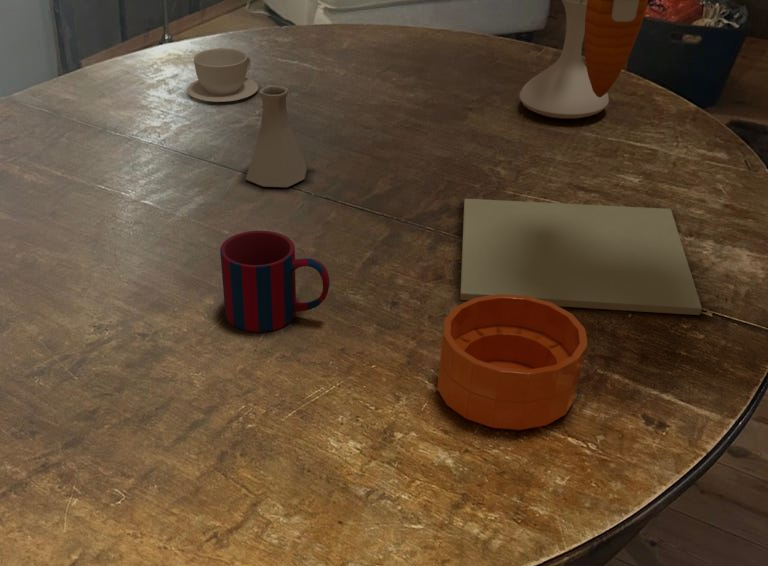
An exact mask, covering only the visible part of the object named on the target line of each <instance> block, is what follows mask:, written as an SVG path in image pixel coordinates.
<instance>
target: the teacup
mask: <svg viewBox="0 0 768 566" xmlns="http://www.w3.org/2000/svg"><path fill="white" fill-rule="evenodd" d="M193 64H194V69H195V75H196V76H197V79H198V80H195V81H193V82H192V83H190V84H189V85H188V86H187V88H186V92H187V94H188V95H189V96H191V98H194V99H198V100H200V101H205V102H212V103H213V102H214V103H215V102H216V103H220V102H221V103H223V102H233V101H238V100H243V99H246V98H248V97H250V96H252V95H254V94H255V93H256V92H257V91H258V89H259V85H258V83H257V82H256V81H255V80H253V79H250V78H248V77H246V76H247V73H248V72H249V70H250V68H251V58H250V56H248V54H247V53H246V52H245V51H243V50H241V49H236V48H229V47H221V48H210V49H206V50H202V51H200V52H198V53H196V54H194V56H193Z"/></svg>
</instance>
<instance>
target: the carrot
mask: <svg viewBox="0 0 768 566" xmlns="http://www.w3.org/2000/svg"><path fill="white" fill-rule="evenodd" d="M648 2H649V0H639V4H638V9H637V13H636V17H635V19H634V20H632V21H630V22H616V21H614V20H613V19H612V16H611V12H610V9H611V5H612V0H587V7H586V16H585V34H584V61H585V66H586V67H587V72H588V77H589V80H590V83H591V86H592V89H593V92H594V93H595V94H596V96H597V97H602V96H603V95H605V94H606V93H608V92H609V91H610V89H611V88H612V87H613V85H614V83H615V82H616V80H617V79H618V77H619V76H620V74H621V72H622V70H623V69H624V67H625V65H626V63H627V61H628V59H629V58H630V55H631V52H632V50H633V48H634V46H635V43H636V40H637V38H638V35H639V32H640V29H641V27H642V24H643V22H644V18H645V15H646V11H647V6H648Z"/></svg>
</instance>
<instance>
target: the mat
mask: <svg viewBox="0 0 768 566" xmlns="http://www.w3.org/2000/svg"><path fill="white" fill-rule="evenodd" d="M462 214H463V215H462V216H463V217H462V219H463V220H462V240H461V242H462V243H461V262H460V263H461V266H460V290H459V300H460V301H469V300H471V299H474V298H478V297H484V296H491V295H497V294H507V295H522V296H529V297H533V298H536V299H540V300H544V301H547V302H551V303H553V304H555V305H557V306H559V307H561V308H563V307H564V308H580V309H594V310H595V309H597V310H612V311H626V312H627V311H628V312H642V313H656V314H657V313H659V314H673V315H689V316H691V315H692V316H700V315H701V313H702V310H703V306H702V304H701V300H700V297H699V294H698V292H697V288H696V285H695V281H694V279H693V276H692V272H691V269H690V267H689V266H690V265H689V262H688V259H687V256H686V253H685V249H684V246H683V243H682V240H681V237H680V234H679V230H678V227H677V223H676V221H675V218H674V214H673V212H672V209H671V208H663V207H661V208H659V207H642V206H641V207H640V206H621V205H603V204H602V205H601V204H584V203H583V204H582V203H581V204H580V203H563V202H562V203H561V202H560V203H558V202H542V201H541V202H539V201H523V200H522V201H521V200H520V201H519V200H504V199H503V200H500V199H499V200H498V199H481V198H464V200H463V213H462Z"/></svg>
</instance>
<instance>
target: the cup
mask: <svg viewBox="0 0 768 566" xmlns="http://www.w3.org/2000/svg"><path fill="white" fill-rule="evenodd" d="M219 253H220V265H221V276H222V277H221V279H222V289H223V290H222V292H223V303H224V304H223V305H224V314H225V315H224V316H225V318H226V320H227V321H228V323H229V324H231V325H232V326H233V327H235V328H237V329H239V330H242V331H246V332H252V333H264V332H265V333H266V332H271V331H276V330H279V329H281V328H283V327H285V326H287V325H289V323H291V322H292V321H293V320H294V318H295V317H296V314H297V313H300V312H306V311H310V310H313V309H315V308H317V307H318V306H320V305H321V304H322V303H323V302H324V301H325V300H326V298H327V296H328V293H329V289H330V276H329V275H330V274H329V272H328V269H327V268H326V267H325V265H324V264H323V263H322V262H321V261H319V260H317V259H313V258H307V257H305V258H297V259H296V247H295V243H294V242H293V240H292V239H291V238H289V237H288V236H286V235H284V234H282V233H279V232H276V231H271V230H249V231H244V232H243V231H242V232H240V233H236V234H234V235H232V236H230V237H228V238H227V239H226V240H225V241H223V243H221V246H220V249H219ZM302 267H309V268H312V269H314V270H316V271H317V272H318V273H319V275H320V277H321V281H322V290H321V291H322V292H321V294H320V295H319V297H318V298H316V299H313V300H311V301H305V302H299V301H297V286H296V285H297V283H296V282H297V281H296V270H297V269H300V268H302Z"/></svg>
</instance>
